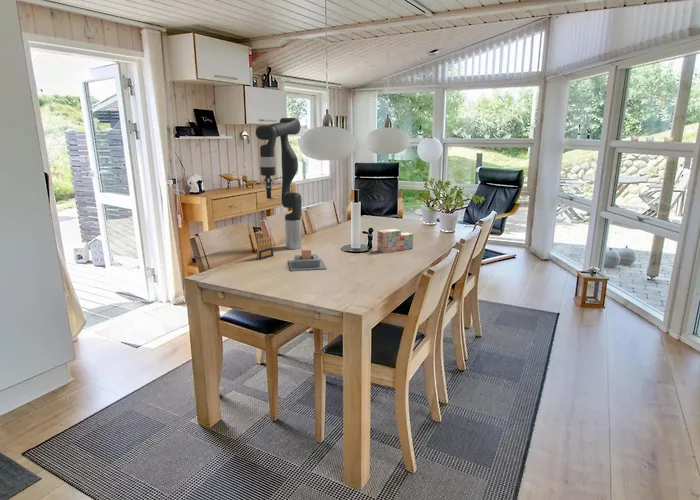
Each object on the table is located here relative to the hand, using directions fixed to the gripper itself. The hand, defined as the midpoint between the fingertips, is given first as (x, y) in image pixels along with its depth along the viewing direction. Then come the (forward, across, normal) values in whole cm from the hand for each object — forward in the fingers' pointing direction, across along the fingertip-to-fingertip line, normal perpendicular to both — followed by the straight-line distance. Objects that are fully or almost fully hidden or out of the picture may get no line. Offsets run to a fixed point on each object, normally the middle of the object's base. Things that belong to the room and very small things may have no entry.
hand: (268, 197), depth 230 cm
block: (+34, -12, -18) cm, 40 cm away
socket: (+34, -12, -18) cm, 40 cm away
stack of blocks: (+34, +13, -73) cm, 82 cm away
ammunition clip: (+34, +7, +3) cm, 35 cm away
